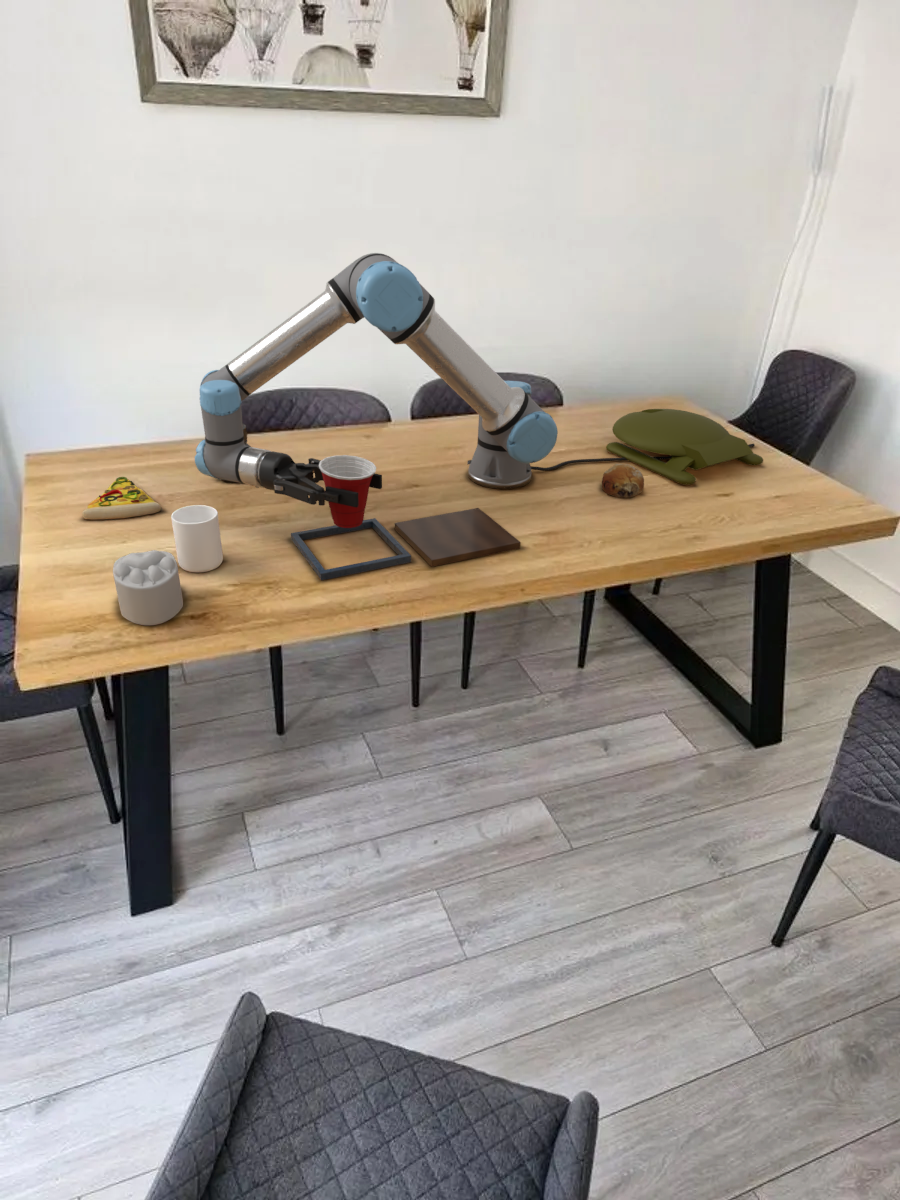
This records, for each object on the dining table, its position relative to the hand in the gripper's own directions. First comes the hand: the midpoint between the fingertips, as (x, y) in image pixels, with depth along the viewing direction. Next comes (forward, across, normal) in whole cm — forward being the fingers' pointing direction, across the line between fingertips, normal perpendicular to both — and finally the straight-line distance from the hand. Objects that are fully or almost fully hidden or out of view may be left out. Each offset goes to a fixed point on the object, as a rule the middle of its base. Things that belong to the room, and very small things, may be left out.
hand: (369, 490), depth 155 cm
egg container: (-25, +34, -14) cm, 44 cm away
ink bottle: (-47, -21, -14) cm, 53 cm away
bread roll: (+37, -56, -14) cm, 69 cm away
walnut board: (+12, -15, -14) cm, 24 cm away
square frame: (-5, 0, -14) cm, 15 cm away
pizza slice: (-61, +1, -14) cm, 62 cm away
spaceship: (+45, -87, -14) cm, 98 cm away
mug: (-29, +16, -14) cm, 36 cm away
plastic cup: (-5, 0, -8) cm, 9 cm away
